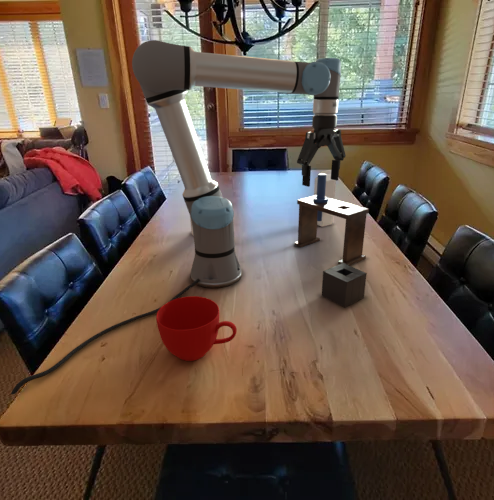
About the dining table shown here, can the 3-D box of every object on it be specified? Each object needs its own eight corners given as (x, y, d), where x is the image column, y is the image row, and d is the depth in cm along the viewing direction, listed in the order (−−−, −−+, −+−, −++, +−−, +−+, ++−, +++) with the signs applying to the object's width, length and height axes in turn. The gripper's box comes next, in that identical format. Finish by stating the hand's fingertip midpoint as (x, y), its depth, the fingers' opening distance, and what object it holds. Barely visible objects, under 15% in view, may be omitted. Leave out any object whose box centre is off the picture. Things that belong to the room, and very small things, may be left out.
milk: (332, 224, 155) (337, 171, 146) (322, 227, 152) (325, 172, 143) (322, 220, 159) (326, 168, 151) (312, 222, 156) (315, 170, 148)
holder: (344, 307, 96) (346, 282, 93) (321, 295, 102) (322, 271, 99) (363, 297, 100) (366, 272, 97) (340, 286, 106) (342, 262, 103)
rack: (345, 267, 118) (350, 215, 111) (294, 244, 135) (295, 199, 128) (365, 258, 123) (371, 209, 116) (313, 238, 140) (315, 194, 134)
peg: (319, 223, 125) (322, 176, 119) (309, 220, 129) (311, 174, 123) (329, 220, 128) (333, 174, 122) (319, 217, 132) (321, 172, 126)
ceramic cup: (227, 380, 73) (224, 338, 69) (149, 365, 77) (143, 324, 73) (246, 340, 84) (245, 302, 80) (178, 329, 89) (173, 292, 85)
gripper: (304, 117, 105) (301, 190, 114) (360, 113, 119) (353, 179, 128) (286, 115, 111) (285, 186, 119) (342, 112, 125) (336, 175, 133)
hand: (320, 182), depth 123 cm, fingers open, 13 cm apart
